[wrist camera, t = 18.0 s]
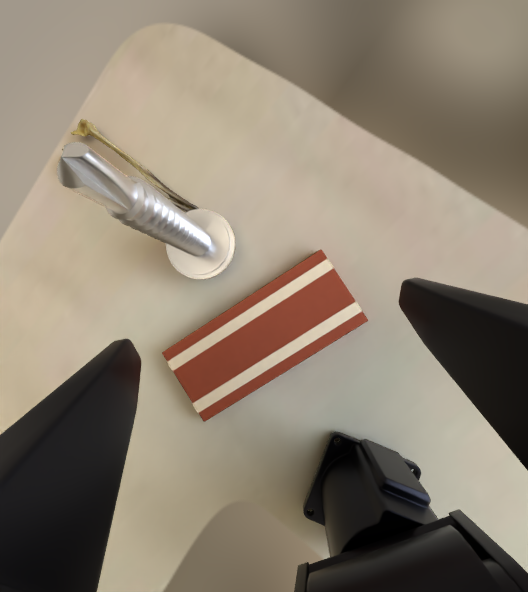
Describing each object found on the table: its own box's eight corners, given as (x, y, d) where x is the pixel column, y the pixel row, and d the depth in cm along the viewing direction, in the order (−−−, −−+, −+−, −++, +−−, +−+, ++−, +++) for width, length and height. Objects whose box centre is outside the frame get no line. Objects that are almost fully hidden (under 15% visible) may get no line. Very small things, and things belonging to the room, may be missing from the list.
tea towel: (319, 251, 19) (321, 248, 18) (364, 319, 19) (368, 320, 18) (166, 350, 20) (161, 353, 19) (207, 417, 20) (203, 422, 19)
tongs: (205, 235, 20) (195, 228, 18) (69, 175, 21) (46, 162, 19) (228, 185, 20) (220, 172, 18) (89, 128, 21) (68, 110, 19)
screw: (197, 292, 20) (167, 238, 20) (251, 261, 19) (220, 206, 20) (28, 282, 7) (-51, 128, 7) (183, 187, 6) (95, 28, 7)
